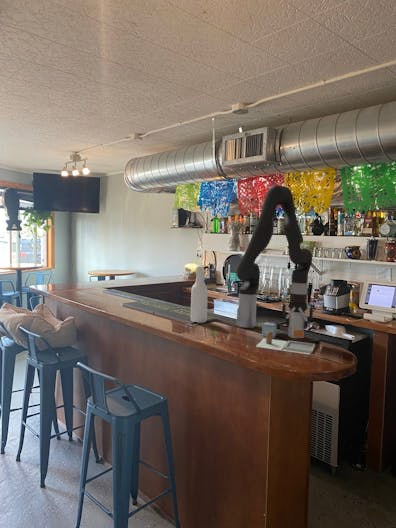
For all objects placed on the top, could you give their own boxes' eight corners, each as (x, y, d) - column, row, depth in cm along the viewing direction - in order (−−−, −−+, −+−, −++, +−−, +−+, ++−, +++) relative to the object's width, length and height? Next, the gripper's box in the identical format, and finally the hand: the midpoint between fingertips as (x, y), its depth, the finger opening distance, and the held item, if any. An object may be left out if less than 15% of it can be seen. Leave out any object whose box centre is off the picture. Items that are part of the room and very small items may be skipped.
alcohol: (187, 321, 213) (189, 266, 211) (195, 318, 221) (197, 265, 218) (202, 324, 209) (204, 267, 207) (209, 320, 217) (211, 266, 214)
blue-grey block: (261, 339, 183) (262, 324, 182) (264, 336, 188) (265, 321, 187) (273, 340, 181) (274, 325, 180) (276, 338, 186) (276, 323, 185)
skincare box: (292, 338, 181) (294, 312, 180) (287, 336, 185) (289, 310, 184) (304, 338, 182) (305, 312, 181) (299, 335, 186) (300, 310, 185)
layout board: (255, 350, 165) (256, 334, 165) (263, 341, 179) (264, 327, 179) (311, 358, 157) (312, 342, 156) (315, 348, 170) (316, 333, 170)
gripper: (315, 292, 182) (313, 327, 184) (284, 289, 188) (282, 323, 189) (313, 295, 175) (311, 331, 177) (281, 291, 181) (279, 327, 182)
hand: (296, 327), depth 183 cm, fingers closed on skincare box, 7 cm apart
